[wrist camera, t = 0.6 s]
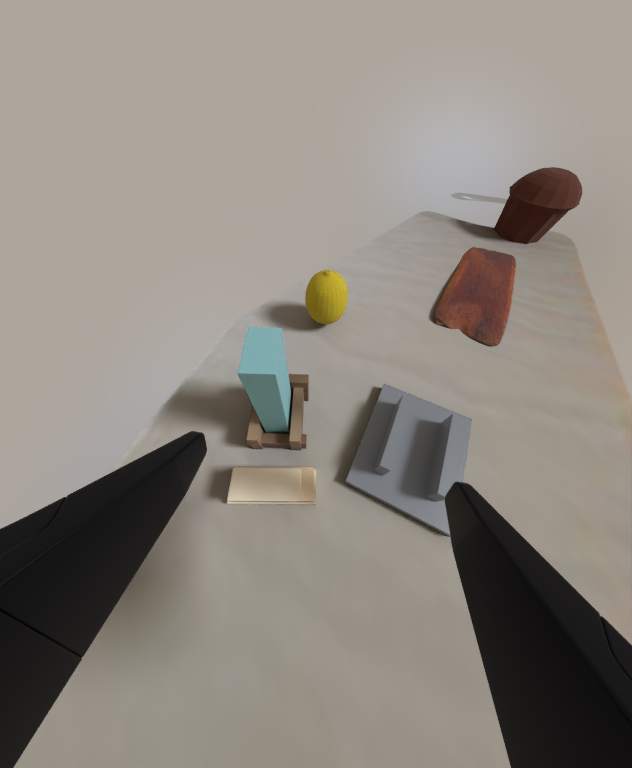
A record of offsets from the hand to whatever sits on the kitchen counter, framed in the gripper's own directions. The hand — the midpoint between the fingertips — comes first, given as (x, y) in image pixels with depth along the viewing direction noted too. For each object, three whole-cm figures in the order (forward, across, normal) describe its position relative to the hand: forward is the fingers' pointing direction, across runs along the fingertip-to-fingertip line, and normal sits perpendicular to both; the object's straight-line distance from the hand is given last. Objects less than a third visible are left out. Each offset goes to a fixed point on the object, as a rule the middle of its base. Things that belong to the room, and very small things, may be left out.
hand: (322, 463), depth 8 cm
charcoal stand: (+13, -9, +11) cm, 19 cm away
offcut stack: (+8, +4, +14) cm, 16 cm away
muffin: (+58, -33, -13) cm, 68 cm away
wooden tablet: (+40, -22, -3) cm, 46 cm away
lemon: (+28, +3, +3) cm, 28 cm away
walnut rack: (+14, +5, +10) cm, 18 cm away
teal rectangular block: (+14, +5, +10) cm, 18 cm away
